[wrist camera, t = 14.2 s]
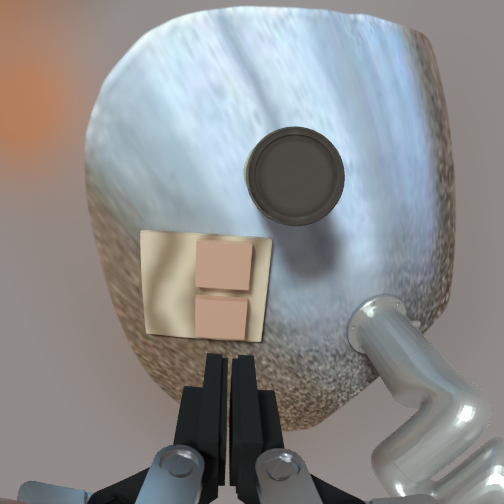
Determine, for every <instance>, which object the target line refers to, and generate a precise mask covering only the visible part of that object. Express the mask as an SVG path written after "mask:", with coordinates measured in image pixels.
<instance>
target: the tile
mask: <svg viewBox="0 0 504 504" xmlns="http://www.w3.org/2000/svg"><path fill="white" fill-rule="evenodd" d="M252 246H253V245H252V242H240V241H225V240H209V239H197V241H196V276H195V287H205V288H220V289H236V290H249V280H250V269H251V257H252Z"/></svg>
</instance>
